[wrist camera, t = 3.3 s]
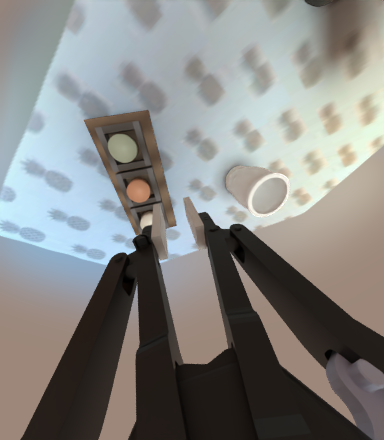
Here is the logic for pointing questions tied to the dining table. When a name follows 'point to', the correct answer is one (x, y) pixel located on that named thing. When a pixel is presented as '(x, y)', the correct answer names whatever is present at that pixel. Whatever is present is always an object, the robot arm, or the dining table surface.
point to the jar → (258, 189)
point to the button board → (133, 164)
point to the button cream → (146, 219)
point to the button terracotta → (138, 190)
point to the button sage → (122, 148)
